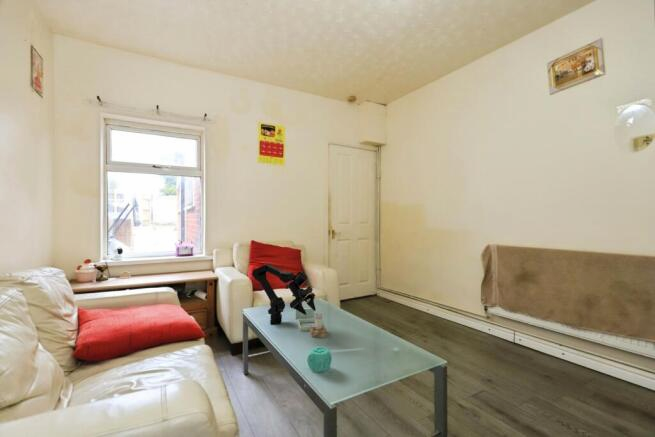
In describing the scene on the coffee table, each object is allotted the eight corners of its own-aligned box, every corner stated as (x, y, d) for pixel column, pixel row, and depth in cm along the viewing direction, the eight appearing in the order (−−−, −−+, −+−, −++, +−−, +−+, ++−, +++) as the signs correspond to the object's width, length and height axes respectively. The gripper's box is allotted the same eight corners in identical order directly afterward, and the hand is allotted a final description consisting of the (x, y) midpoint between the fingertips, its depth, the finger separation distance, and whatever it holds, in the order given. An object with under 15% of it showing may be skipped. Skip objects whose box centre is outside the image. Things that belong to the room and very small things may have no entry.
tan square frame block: (311, 339, 160) (312, 331, 160) (309, 332, 169) (309, 326, 168) (326, 338, 162) (326, 331, 162) (323, 332, 170) (323, 325, 170)
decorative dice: (306, 369, 129) (307, 351, 129) (317, 361, 135) (317, 344, 135) (321, 374, 124) (322, 356, 124) (331, 367, 131) (332, 349, 131)
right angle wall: (313, 320, 191) (314, 309, 191) (295, 319, 191) (296, 308, 191) (314, 314, 203) (315, 303, 203) (297, 313, 203) (298, 303, 203)
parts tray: (299, 332, 169) (299, 327, 169) (297, 323, 182) (297, 319, 182) (322, 331, 172) (322, 326, 172) (318, 322, 185) (318, 318, 185)
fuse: (315, 335, 163) (315, 316, 163) (313, 332, 167) (314, 313, 167) (322, 335, 164) (323, 315, 164) (320, 332, 168) (321, 313, 168)
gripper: (294, 285, 163) (309, 308, 157) (313, 279, 179) (327, 300, 173) (283, 296, 167) (297, 319, 162) (302, 290, 183) (316, 311, 177)
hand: (310, 312), depth 168 cm, fingers open, 9 cm apart
